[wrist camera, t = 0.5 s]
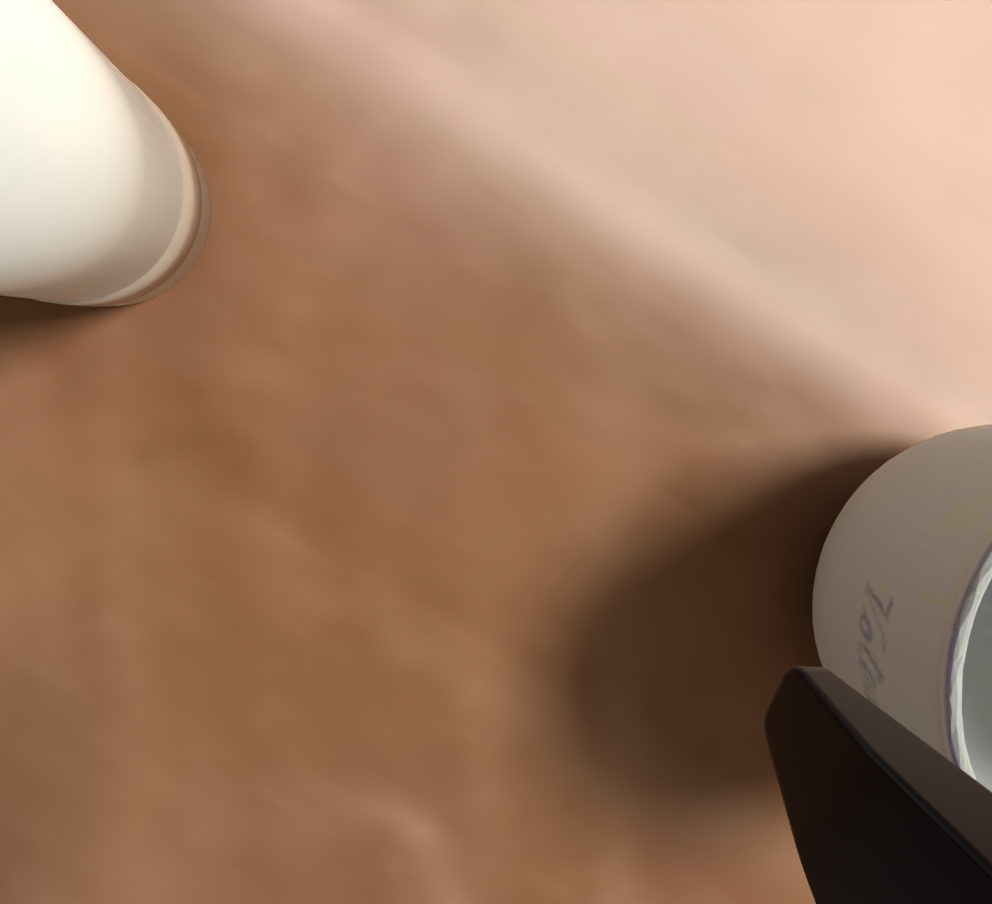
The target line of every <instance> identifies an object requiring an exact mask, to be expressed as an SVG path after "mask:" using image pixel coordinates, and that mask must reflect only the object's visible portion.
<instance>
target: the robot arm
mask: <svg viewBox="0 0 992 904" xmlns="http://www.w3.org/2000/svg"><path fill="white" fill-rule="evenodd" d="M764 727H765V735H766V739H767V743H768V746H769V750H770V754H771V757H772V761H773V765H774V768H775V772H776V775H777V779H778V783H779V786H780V790H781V794H782V797H783V801H784V805H785V808H786V812H787V815H788V819H789V823H790V826H791V830H792V834H793V837H794V841H795V844H796V848H797V851H798V854H799V857H800V861H801V864H802V867H803V869H804V872H805V875H806V878H807V881H808V883H809V886H810V889H811V891H812V894H813V897H814V899H815V902H816V904H992V792H991V791H990V790H988V789H987V788H986V787H984V786H983V785H982V784H980V783H979V782H978V781H977V780H975V779H974V778H973V777H971V776H970V775H969V774H967V773H966V772H965V771H963V770H962V769H961V768H959V767H958V766H957V765H955V764H954V763H953V762H951V761H950V760H949V759H947V758H946V757H945V756H943V755H942V754H941V753H939V752H938V751H937V750H935V749H934V748H933V747H931V746H930V745H929V744H927V743H926V742H925V741H923V740H922V739H921V738H919V737H918V736H917V735H915V734H914V733H913V732H911V731H910V730H909V729H907V728H906V727H905V726H903V725H902V724H901V723H899V722H898V721H897V720H895V719H894V718H893V717H891V716H890V715H889V714H887V713H886V712H885V711H883V710H882V709H881V708H879V707H878V706H877V705H875V704H874V703H873V702H871V701H870V700H869V699H867V698H866V697H865V696H863V695H862V694H861V693H859V692H858V691H857V690H855V689H854V688H853V687H851V686H850V685H849V684H847V683H846V682H845V681H843V680H842V679H841V678H839V677H838V676H837V675H835V674H834V673H833V672H831V671H830V670H828V669H826V668H823V667H814V666H793V667H791V668H790V669H788V670H787V671H786V672H785V674H784V676H783V678H782V680H781V682H780V684H779V687H778V689H777V691H776V693H775V695H774V697H773V699H772V701H771V703H770V706H769V708H768V710H767V712H766V716H765V725H764Z"/></svg>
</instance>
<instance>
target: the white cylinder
mask: <svg viewBox="0 0 992 904" xmlns="http://www.w3.org/2000/svg"><path fill="white" fill-rule="evenodd" d="M209 222H210V197H209V191H208V185H207V182H206V179H205V175H204V172H203V170H202V167H201V165H200V163H199V161H198V159H197V157H196V155H195V154H194V152H193V150H192V149H191V147H190V145H189V144H188V143H187V142H186V140H185V139H184V138H183V137H182V135H181V134H180V132H179V131H178V130H177V128H176V127H175V126H174V125H173V123H172V122H171V121H170V120H169V119H168V117H167V116H166V115H165V114H164V113H163V112H162V111H161V110H160V109H159V108H158V107H157V106H156V105H155V104H154V103H153V102H152V101H151V100H150V99H149V98H148V97H147V96H146V95H145V94H144V93H143V92H142V91H141V90H140V89H139V88H138V87H137V86H136V85H135V84H134V83H132V82H131V81H130V80H129V79H127V78H126V77H125V76H124V75H123V74H122V73H121V72H120V71H119V70H118V69H117V68H116V67H115V66H114V65H113V64H112V63H111V62H110V61H109V60H108V58H107V57H106V56H105V55H104V54H103V53H102V52H101V51H100V50H99V49H98V48H97V47H96V46H95V45H94V44H93V43H92V42H91V41H90V40H89V39H88V38H87V37H86V36H85V35H84V34H83V33H82V32H81V31H80V30H79V28H78V27H77V26H76V25H75V24H74V23H73V22H72V21H71V20H70V19H69V18H68V17H67V16H66V15H65V14H64V13H63V12H62V11H61V10H60V9H59V8H58V7H57V6H56V5H55V4H54V3H53V2H52V1H51V0H0V295H2V296H12V297H21V298H30V299H34V300H38V301H42V302H49V303H57V304H66V305H76V306H96V307H101V306H123V305H131V304H135V303H139V302H143V301H146V300H149V299H151V298H154V297H156V296H158V295H160V294H161V293H163V292H165V291H167V290H168V289H170V288H171V287H172V286H174V285H175V284H176V283H178V282H179V281H180V280H181V279H182V278H183V277H184V276H185V275H186V274H187V273H188V271H189V270H190V269H191V267H192V266H193V265H194V263H195V262H196V260H197V258H198V256H199V255H200V253H201V251H202V248H203V246H204V243H205V241H206V237H207V233H208V229H209Z"/></svg>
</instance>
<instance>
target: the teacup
mask: <svg viewBox="0 0 992 904" xmlns="http://www.w3.org/2000/svg"><path fill="white" fill-rule="evenodd" d="M812 614H813V628H814V635H815V642H816V646H817V650H818V654H819V658H820V661H821V664H822V667H823V668H826V669H828V670H830V671H831V672H833V673H834V674H835V675H837V676H838V677H839V678H841V679H842V680H843V681H845V682H846V683H847V684H849V685H850V686H851V687H853V688H854V689H855V690H857V691H858V692H859V693H861V694H862V695H863V696H865V697H866V698H867V699H869V700H870V701H871V702H873V703H874V704H875V705H877V706H878V707H879V708H881V709H882V710H883V711H885V712H886V713H887V714H889V715H890V716H891V717H893V718H894V719H895V720H897V721H898V722H899V723H901V724H902V725H903V726H905V727H906V728H907V729H909V730H910V731H911V732H913V733H914V734H915V735H917V736H918V737H919V738H921V739H922V740H923V741H925V742H926V743H927V744H929V745H930V746H931V747H933V748H934V749H935V750H937V751H938V752H939V753H941V754H942V755H943V756H945V757H946V758H947V759H949V760H950V761H951V762H953V763H954V764H955V765H957V766H958V767H959V768H961V769H962V770H963V771H965V772H966V773H967V774H969V775H970V776H971V777H973V778H974V779H975V780H977V781H978V782H979V783H980V784H982V785H983V786H984V787H986V788H987V789H988V790H990V791H991V792H992V425H983V426H976V427H970V428H964V429H959V430H955V431H951V432H947V433H944V434H941V435H938V436H935V437H933V438H930V439H928V440H925V441H922V442H920V443H917V444H915V445H914V446H912V447H910V448H908V449H906V450H905V451H903V452H901V453H900V454H898V455H896V456H895V457H893V458H892V459H890V460H888V461H887V462H886V463H885V464H883V465H882V466H881V467H880V468H879V469H877V470H876V471H875V472H874V473H872V474H871V475H870V476H869V477H868V478H867V479H866V480H865V481H864V482H863V483H862V484H861V485H860V486H859V488H858V489H857V490H856V491H855V493H854V494H853V495H852V496H851V497H850V499H849V500H848V501H847V503H846V504H845V506H844V507H843V509H842V510H841V512H840V514H839V515H838V517H837V518H836V520H835V522H834V524H833V526H832V528H831V530H830V532H829V534H828V536H827V539H826V541H825V543H824V546H823V549H822V552H821V555H820V559H819V562H818V565H817V569H816V575H815V581H814V588H813V602H812Z"/></svg>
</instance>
